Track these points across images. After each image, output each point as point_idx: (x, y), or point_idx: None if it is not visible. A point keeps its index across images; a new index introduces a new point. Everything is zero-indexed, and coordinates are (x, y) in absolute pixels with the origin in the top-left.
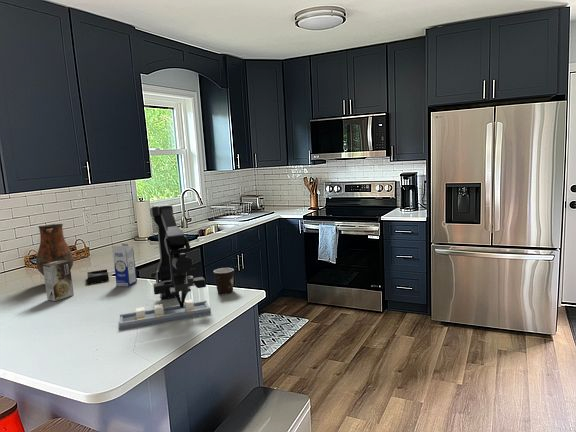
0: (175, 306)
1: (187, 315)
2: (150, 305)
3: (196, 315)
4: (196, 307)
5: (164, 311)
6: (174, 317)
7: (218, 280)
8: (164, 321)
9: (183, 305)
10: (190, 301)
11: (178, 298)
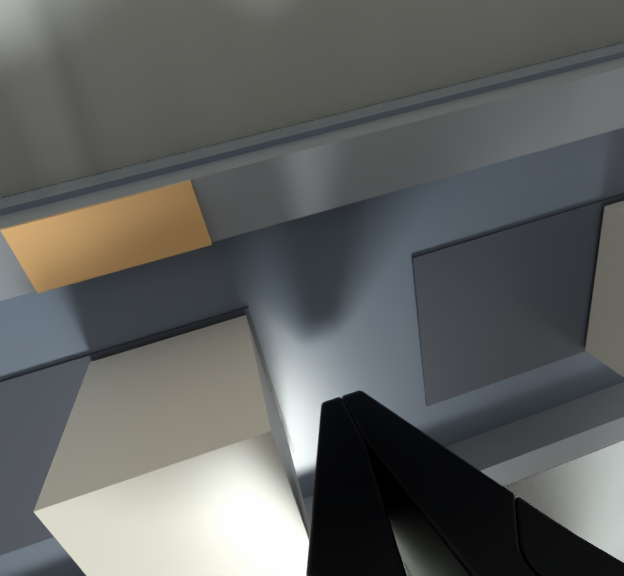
0: None
1: (191, 155)
2: None
3: (9, 198)
4: None
5: (559, 379)
6: (442, 97)
7: None
8: (577, 56)
9: None
10: (158, 556)
11: (540, 562)
